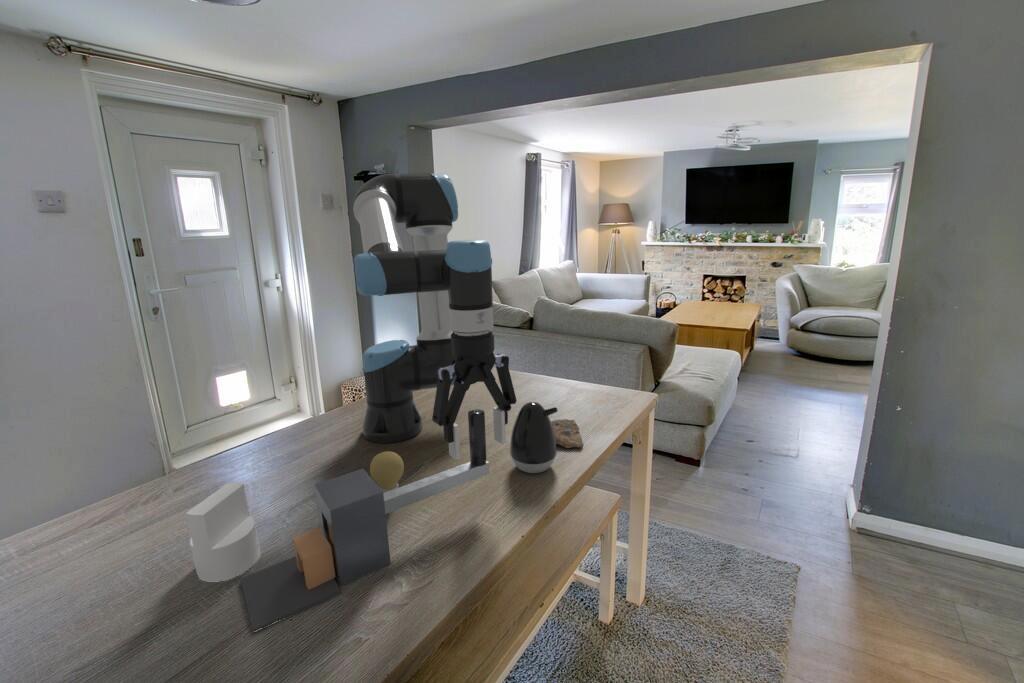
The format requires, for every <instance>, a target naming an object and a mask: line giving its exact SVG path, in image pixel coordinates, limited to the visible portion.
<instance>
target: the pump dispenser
mask: <svg viewBox="0 0 1024 683" xmlns="http://www.w3.org/2000/svg"><path fill="white" fill-rule="evenodd" d="M557 412H558V408H557V407H550V408H548V409H545V408H544V406H542V405H541V404H540V403H539V402H536V401H530V402H527V403H525V404H524V405H522V407H521V408H520V409H519V411H518V414H517V416H516V418H515V420H514V422H513V426H512V429H511V436H510V443H509V455H510V456H511V458H512V461H513V463H514V465H515V466H516V467H517V468H518V469H519V470H521V472H524V473H528V474H540V473H543V472H545V471H547V470H548V469H549V468H550V467H551V466H552V465H553V463H554V460H555V458H556V456H557V452H558V451H557V450H558V449H557V444H556V439H555V434H554V430H553V426H552V423H551V419H550V417H549V416H551V415H553V414H555V413H557Z"/></svg>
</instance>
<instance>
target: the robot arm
mask: <svg viewBox="0 0 1024 683" xmlns="http://www.w3.org/2000/svg"><path fill="white" fill-rule="evenodd" d="M455 190H456V189H455V186H454V184H453V182H452V180H451V178H450V177H449V176H448V175H446V174H443V173H441V174H440V173H432V172H428V173H427V172H426V173H385V174H384V173H383V174H380V175H378V176H375V177H373V178H371V179H369V180H368V181H366V182H364V183H363V184H362V186H361V187H360V188H359V189H358V190H357V192H356V193H355V195H354V197H353V201H352V211H353V215H354V218H355V221H357V222H358V224H359V226H360V235H361V242H362V250H363V253H359V254H356V255H355V257H354V259H353V262H354V270H355V271H354V272H355V280H356V281H355V282H356V287H357V288H356V289H357V293H359V295H361V296H365V297H366V296H368V297H369V296H378V297H383V296H391V295H402V294H411V293H412V294H413V293H417V294H418V303H419V304H418V305H419V315H420V326H421V331H420V332H419V334H418V335H417V336H416V344H415V345H410V343H409V342H408V341H407V340H405V339H394V340H393V339H392V340H386V341H383V342H379V343H376V344H374V345H372V346H370V347H368V348H366V349H365V350H364V352H363V353H362V368H361V370H362V372H363V376H364V388H365V396H366V410H365V415H364V418H363V422H362V435H363V437H364V439H366V440H367V441H368V442H369V441H370V442H373V443H378V444H379V443H380V444H390V443H399V442H402V441H406V440H409V439H411V438H413V437H416V436H417V435H419V434H420V433H421V431H422V430H423V420H422V419H423V418H422V416H421V415H420V411H419V410H418V408H417V405H416V403H415V401H414V393H413V392H414V391H421V390H428V389H436V391H435V396H434V404H433V412H432V416H431V417H432V418H431V420H432V421H433V422H434V423H435V424H437V425H438V426H440V427H443V438H444V441H445V442H447V443H448V454H449V456H451V457H452V458H453V459H454V460H456V461H459V460H461V445H460V432H459V431H460V429H459V425H458V424H457V423H456V420H457V417H458V415H459V412H460V409H461V406H462V404H463V402H464V398H465V396H466V393H467V391H469V389H470V387H471V385H474V384H476V383H478V382H479V383H484V385H485V386H486V389H487V390H488V392H489V394H490V395H491V397H492V399H493V401H494V403H495V405H496V406H494V407H493V408H492V411H493V412H492V414H493V415H492V416H493V434H494V436H493V437H494V438H493V439H494V440H495V441H497V442H498V443H499V444H502V445H504V444H506V425H508V422H509V419H508V418H509V417H508V416H509V414H508V412H509V411H511V410H512V405H516V403H517V397H516V392H515V388H514V384H513V381H512V376H511V373H510V368H509V365H510V357H509V356H508V355H505V354H502V353H497V354H496V355H495V354H494V352H495V348H496V347H495V332H493V330H492V329H493V328H494V310H493V309H494V306H493V299H494V298H493V280H492V279H493V272H492V271H493V270H492V268H493V259H492V254H491V252H492V251H491V246H490V243H489V242H488V241H487V240H485V239H463V240H462V239H461V240H459V239H457V240H452V241H448V235H449V233H450V232H451V231H452V229H453V223H455V222H456V221H457V220H458V219H459V210H458V209H459V206H458V199H457V194H456V191H455ZM397 224H405V231H406V232H407V233H408V234H410V235H411V237H412V238H413V240H412V241H413V249H414V250H412V251H409V250H408V251H405V250H404V247H403V242H402V240H401V237H400V233H399V229H398V225H397ZM494 366H495V369H496V373H497V377H498V380H499V384H500V387H499V385H498V383H497V381H496V378H495V376H494V373H493V372H492V370H493V368H494ZM451 387H453V388H452V389H451ZM450 392H451V393H450Z"/></svg>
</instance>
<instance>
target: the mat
mask: <svg viewBox="0 0 1024 683" xmlns="http://www.w3.org/2000/svg"><path fill="white" fill-rule="evenodd" d="M240 583H241V588H242V592H243V596H244V600H246V601H245V605H246V609H247V612H248V617H249V621H250V625H252V626H251V629H253V630H252V633H253V632H254V631H256V630H258V629H260V628H264V627H266V626H268V625H270V624H272V623H274V622H276V621H279V620H282V619H284V618H286V619H288V618H290V617H292V616H291V615H293V614H295V615H296V613H297V614H299V613H301V612H303V611H306V610H308V609H310V608H312V607H314V606H316V605H319V604H320V603H323V602H325V601H327V600H330V599H331V598H334V597H336V596H337V595H341V589H340V588H339V585H338V584H337V581H336V580H335V578H333V579H331V580H329V581H327V582H324V583H322V584H320V585H318V586H316V587H314V588H311V589H309V590H308V588H307V586H306V581H305V575H304V571H302V572H300V571H299V569H298V566H297V560H296V555H295V556H293V557H291V558H288V559H286V560H283V561H280V562H278V563H275V564H273V565H271V566H268V567H265V568H263V569H261V570H257V571H254V572H253V573H250V574H247V575H245V576H243V577H240ZM298 612H299V613H298ZM289 616H290V617H289ZM293 616H294V615H293ZM287 617H288V618H287ZM284 620H285V619H284ZM282 621H283V620H282ZM266 628H267V627H266ZM264 629H265V628H264Z"/></svg>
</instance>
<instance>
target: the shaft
mask: <svg viewBox="0 0 1024 683" xmlns="http://www.w3.org/2000/svg"><path fill="white" fill-rule="evenodd" d="M485 420H486V417H485V410H483V409H478V408H477V409H476V408H475V409H471V410H469V411H468V412H467V421H468V438H469V441H468V442H469V455H470V456H469V458H470V459H469V460H470V461H469V462H465V463H463V464H461V465H457V466H454V467H452V468H449V469H447V470H444V471H441V472H437V473H435V474H433V475H430V476H427V477H424V478H422V479H419V480H416V481H414V482H409V483H408V484H404V485H402V486H399V488H396V489H393V490H391V491H388V492H385V493H383V495H384V504H385V514H386V515H387V514H390V513H392V512H394V511H398V510H400V509H402V508H405V507H408V506H411V505H413V504H415V503H418V502H420V501H424V500H426V499H429V498H431V497H434V496H436V495H438V494H441V493H444V492H446V491H449V490H451V489H454V488H457V487H459V486H462V485H464V484H467V483H469V482H472V481H475V480H477V479H480V478H483V477H484V476H488V475H490V462H489V461H488V460H487V458H488V457H487V442H486V440H487V439H486V438H487V436H486V421H485ZM327 526H328V522H327Z"/></svg>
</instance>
